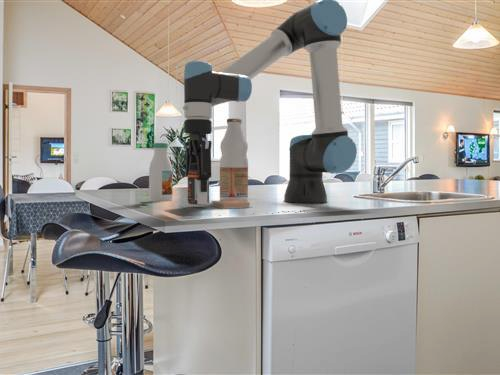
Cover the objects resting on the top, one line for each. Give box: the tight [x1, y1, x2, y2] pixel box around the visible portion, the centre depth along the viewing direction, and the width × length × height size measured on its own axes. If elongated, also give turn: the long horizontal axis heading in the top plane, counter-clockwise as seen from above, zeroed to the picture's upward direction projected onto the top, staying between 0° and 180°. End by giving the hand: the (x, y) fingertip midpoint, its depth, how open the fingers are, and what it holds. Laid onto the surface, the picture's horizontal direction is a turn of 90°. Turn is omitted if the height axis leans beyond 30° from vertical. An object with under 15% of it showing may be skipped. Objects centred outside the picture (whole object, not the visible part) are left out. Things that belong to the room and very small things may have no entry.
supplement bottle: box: [187, 163, 210, 205], centre depth 123 cm, size 6×6×11 cm
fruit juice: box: [219, 118, 249, 202], centre depth 147 cm, size 9×9×28 cm
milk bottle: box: [148, 142, 173, 203], centre depth 149 cm, size 8×8×20 cm
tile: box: [211, 200, 250, 210], centre depth 127 cm, size 8×2×8 cm
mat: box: [178, 204, 254, 211], centre depth 126 cm, size 18×13×1 cm
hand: (197, 202), depth 123 cm, fingers closed on supplement bottle, 6 cm apart
